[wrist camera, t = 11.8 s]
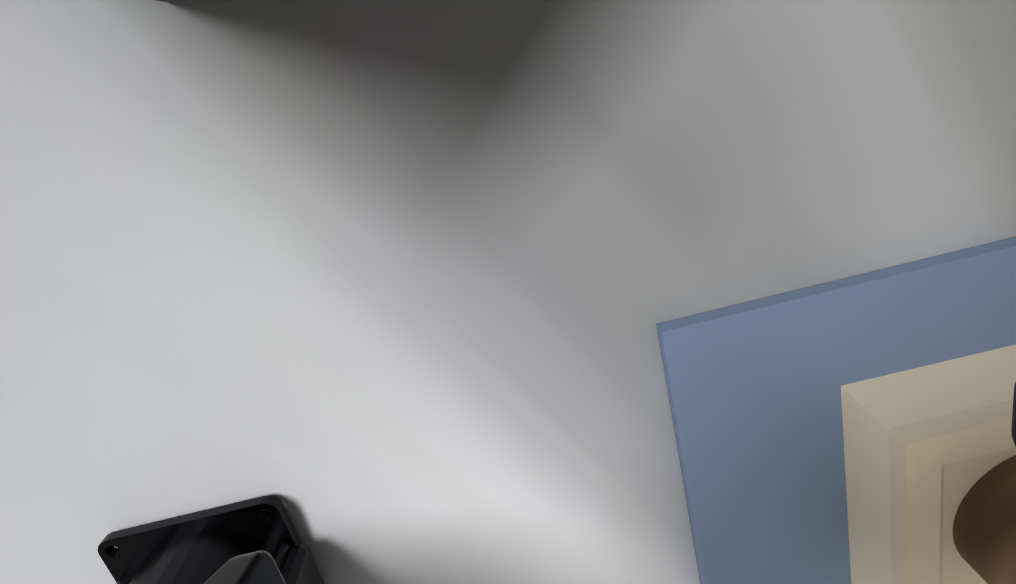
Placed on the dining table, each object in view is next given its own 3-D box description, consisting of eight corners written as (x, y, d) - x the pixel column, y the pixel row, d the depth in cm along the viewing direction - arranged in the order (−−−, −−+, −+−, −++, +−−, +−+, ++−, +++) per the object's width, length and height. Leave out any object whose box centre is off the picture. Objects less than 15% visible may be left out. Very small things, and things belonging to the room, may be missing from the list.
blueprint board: (715, 666, 26) (754, 766, 22) (656, 324, 20) (697, 384, 16) (1204, 558, 25) (1329, 644, 21) (1288, 170, 19) (1481, 196, 15)
